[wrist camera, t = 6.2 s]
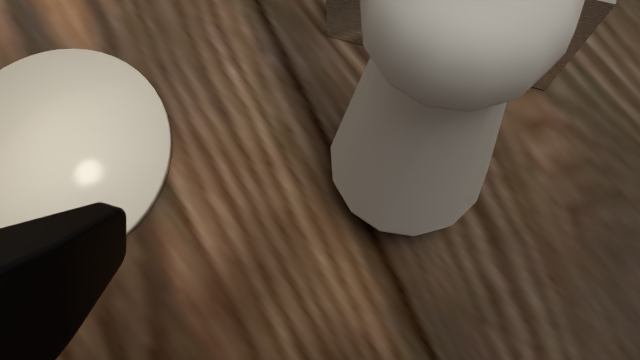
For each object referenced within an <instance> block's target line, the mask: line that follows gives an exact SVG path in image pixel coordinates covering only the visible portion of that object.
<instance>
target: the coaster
mask: <svg viewBox="0 0 640 360" xmlns="http://www.w3.org/2000/svg"><path fill="white" fill-rule="evenodd" d="M171 156H172V133H171V126H170V122H169V117H168V114H167V112H166V109H165V107H164V104H163V102H162V101H161V99H160V97H159V96H158V94H157V92H156V91H155V89H154V88H153V87H152V86H151V84H150V83H149V82H148V81H147V79H146V78H145V77H144V76H143V75H141V74H140V73H139V72H138V71H137V70H136V69H134V68H133V67H131V66H130V65H129V64H127V63H126V62H124V61H122V60H120V59H118V58H116V57H113V56H110V55H107V54H104V53H101V52H97V51H92V50H84V49H59V50H53V51H46V52H42V53H39V54H35V55H31V56H29V57H26V58H23V59H21V60H18V61H16V62H14V63H12V64H10V65H8V66H6V67H4V68H3V69H1V70H0V228H3V227H7V226H11V225H14V224H18V223H22V222H26V221H29V220H33V219H37V218H41V217H44V216H48V215H52V214H56V213H59V212H63V211H67V210H71V209H75V208H78V207H82V206H86V205H90V204H93V203H97V202H103V203H107V204H110V205H113V206H116V207H120V208H122V209H123V210H124V211H125V213H126V236H127V235H128V234H129V233H130V232H132V231H133V230H134V229H135V228H136V227H137V226H138V225H139V223H140V222H141V221H142V220H143V219H144V218H145V216H146V215H147V214H148V213H149V211H150V210H151V208H152V206H153V205H154V203H155V202H156V200H157V198H158V196H159V194H160V192H161V190H162V188H163V186H164V183H165V180H166V178H167V175H168V172H169V167H170V162H171Z"/></svg>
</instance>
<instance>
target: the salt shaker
mask: <svg viewBox="0 0 640 360" xmlns="http://www.w3.org/2000/svg"><path fill="white" fill-rule="evenodd" d="M584 2H585V0H360V11H361V23H362V35H363V45H364V47H365V49H366V51H367V53H368V54H369V56H370V59H369V61H368V64H367V66H366V68H365V70H364V72H363V75H362V77H361V79H360V81H359V84H358V86H357V88H356V90H355V92H354V95H353V97H352V99H351V101H350V104H349V106H348V108H347V110H346V113H345V115H344V117H343V119H342V122H341V124H340V126H339V129H338V131H337V133H336V136H335V138H334V140H333V143H332V145H331V162H332V177H333V182H334V184H335V185H336V187H337V189H338V190H339V192H340V194H341V195H342V197H343V199H344V201H345V202H346V204H347V206H348V207H349V209H350V211H351V212H352V213H354V214H355V215H357V216H358V217H360V218H361V219H362V220H364V221H365V222H367V223H368V224H370V225H371V226H373V227H374V228H376V229H377V230H379V231H381V232H388V233H395V234H401V235H408V236H417V235H421V234H424V233H428V232H431V231H435V230H439V229H442V228H446V227H449V226H452V225H453V224H454V223H455V222H456V221H457V220H458V219H459V218H460V217H461V216H462V215H463V214H464V213H465V212H466V211H467V210H468V209H469V208H470V207H471V206H473V205H474V204H475V203H476V201H477V199H478V196H479V193H480V190H481V187H482V185H483V182H484V179H485V176H486V174H487V171H488V167H489V164H490V160H491V157H492V153H493V150H494V146H495V143H496V139H497V135H498V132H499V128H500V125H501V121H502V118H503V114H504V110H505V107H506V103H507V102H509V101H512V100H515V99H518V98H520V97H521V96H522V95H523V94H524V93H525V92H526V91H527V90H528V89H529V88H530V87H532V86H533V85H534V84H535V83H536V82H537V81H538V80H539V79H540V78H541V77H542V76H543V75H544V74H545V73H547V72H548V71H549V70H550V69H551V68H552V67H553V66H554V65H555V64H556V62H557V61H558V60H559V59H560V58H561V57H562V56H563V55H564V54H565V53H566V51H567V48H568V46H569V44H570V41H571V39H572V37H573V34H574V32H575V30H576V26H577V23H578V20H579V17H580V14H581V11H582V8H583V5H584Z"/></svg>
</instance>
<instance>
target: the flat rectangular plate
mask: <svg viewBox="0 0 640 360" xmlns="http://www.w3.org/2000/svg"><path fill="white" fill-rule="evenodd" d="M615 5H616V0H585V2H584V5H583V8H582V11H581V14H580V17H579V20H578V23H577V26H576V30H575V32H574V34H573V37H572V39H571V41H570V44H569V46H568V48H567V51H566V53H565V54H564V55H563V56H562V57H561V58H560V59H559V60H558V61H557V62H556V64H555V65H554V66H553V67H552V68H551V69H550V70H549V71H548V72H547V73H545V74H544V75H543V76H542V77H541V78H540V79H539V80H538V81H537V82H536V83H535V84H534V85H533V86H532V87H533V88H537V89H541V90H546V89H547V87H548V86H549V85H550V84H551V83H552V81H553V80H554V79H555V78H556V76H557V75H558V74H559V73H560V72H561V70H562V69H563V68H564V67H565V65H566V64H567V63H568V62H569V61H570V59H571V58H572V57H573V56H574V55H575V53H576V52H577V51H578V50H579V48H580V47H581V46H582V45H583V44H584V42H585V41H586V40H587V39H588V37H589V36H590V35H591V34H592V33H593V31H594V30H595V29H596V28H597V27H598V25H599V24H600V23H601V22H602V20H603V19H604V18H605V17H606V16H607V14H608V13H609V12H610V11H611V9H612V8H613V7H614V6H615ZM326 19H327V36H329V37H333V38H337V39H341V40H345V41H349V42H353V43H357V44H361V45H363V35H362V23H361V11H360V0H326Z"/></svg>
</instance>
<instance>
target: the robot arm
mask: <svg viewBox="0 0 640 360" xmlns="http://www.w3.org/2000/svg"><path fill="white" fill-rule="evenodd" d="M125 254H126V213H125V211H124V210H123V209H122V208H120V207H116V206H113V205H110V204H107V203H103V202H97V203H93V204H90V205H86V206H82V207H78V208H75V209H71V210H67V211H63V212H59V213H56V214H52V215H48V216H44V217H41V218H37V219H33V220H29V221H26V222H22V223H18V224H14V225H11V226H7V227H3V228H0V360H56V359H57V357H58V356H59V355H60V354H61V352H62V351H63V350H64V349H65V347H66V346H67V345H68V343H69V342H70V341H71V339H72V338H73V337H74V335H75V334H76V332H77V331H78V329H79V328H80V326H81V325H82V323H83V322H84V320H85V319H86V317H87V316H88V314H89V313H90V311H91V310H92V308H93V307H94V305H95V304H96V302H97V301H98V299H99V298H100V296H101V295H102V293H103V292H104V290H105V289H106V287H107V285H108V284H109V282H110V281H111V279H112V278H113V276H114V275H115V273H116V272H117V270H118V269H119V267H120V266H121V264H122V262H123V260H124V257H125Z"/></svg>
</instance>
